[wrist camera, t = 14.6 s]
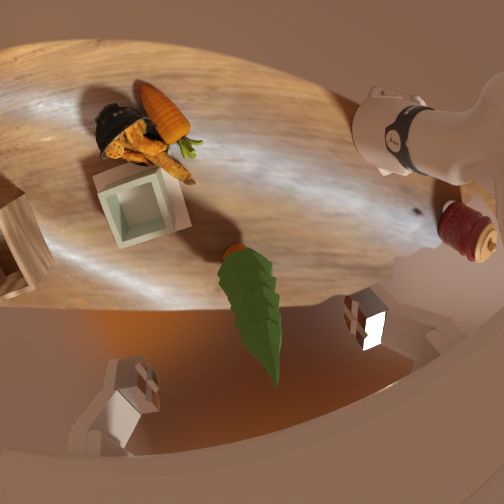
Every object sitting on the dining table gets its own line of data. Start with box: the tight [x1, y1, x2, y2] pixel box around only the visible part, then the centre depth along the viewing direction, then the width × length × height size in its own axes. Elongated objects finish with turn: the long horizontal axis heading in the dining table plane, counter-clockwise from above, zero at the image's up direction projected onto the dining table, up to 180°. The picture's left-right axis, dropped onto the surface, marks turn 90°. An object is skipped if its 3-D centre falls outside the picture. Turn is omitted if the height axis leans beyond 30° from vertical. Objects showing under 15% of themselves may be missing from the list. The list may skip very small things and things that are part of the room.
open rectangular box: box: [92, 149, 192, 249], centre depth 41 cm, size 14×14×7 cm
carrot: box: [140, 85, 203, 159], centre depth 37 cm, size 5×5×15 cm
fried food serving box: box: [0, 193, 54, 302], centre depth 36 cm, size 17×15×10 cm
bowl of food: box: [95, 103, 196, 185], centre depth 36 cm, size 9×11×18 cm
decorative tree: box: [217, 242, 282, 388], centre depth 41 cm, size 10×9×30 cm
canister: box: [439, 202, 497, 263], centre depth 56 cm, size 13×13×18 cm
